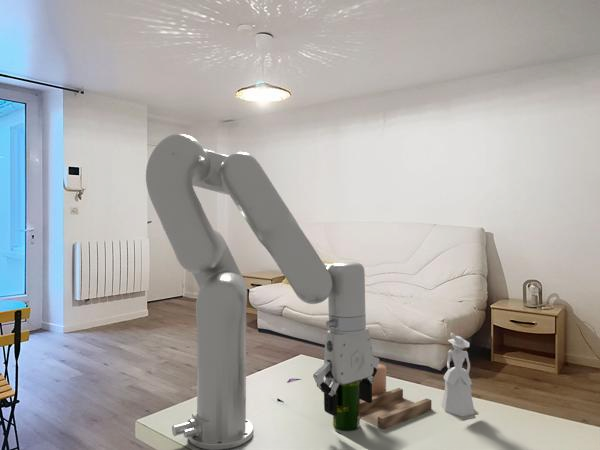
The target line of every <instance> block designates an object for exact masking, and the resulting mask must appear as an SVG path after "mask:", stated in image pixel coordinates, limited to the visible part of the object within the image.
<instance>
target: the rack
mask: <svg viewBox="0 0 600 450" xmlns="http://www.w3.org/2000/svg"><path fill="white" fill-rule="evenodd" d="M432 411H433V409H432V400H431V399H430V398H425V399H421V400H419V401H416V402H414V401H412V400H409V399H407V398H404V389H403V388H400V387H398V388H395V389H391V390H388V391H387V390H386V392H385V393H382V394H379V395H376V396H373V397H372V403H368V402H365V401H363V400H361V399H360V419H361V420H363V421H365V422H367V423H369V424H371V425H373V426H374V427H377V428H379V429H382V430H383V431H384V430H387V429H389V428H392V427H394V426H396V425H398V424H401V423H405V422H407V421H409V420H412V419H414V418H417V417H419V416H421V415H424V414H427V413H429V412H432Z"/></svg>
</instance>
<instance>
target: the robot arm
mask: <svg viewBox="0 0 600 450" xmlns="http://www.w3.org/2000/svg"><path fill="white" fill-rule="evenodd" d="M145 183H146V189H147V193H148V197H149V199H150V201H151V204H152V206H153V208H154V210H155V212H156V214H157V216H158V218H159V221H160V224H161V226H162V228H163V230H164V232H165V235H166V237H167V239H168V241H169V244H170V245H171V248H172V250H173V251H174V254H175V256H176V260H177V261H178V263H179V265H180V266H181V267H182V268H183V269H185V270H186V271H188V272H190V273H192V275H193V277H194V279H195V281H196V285H198V287H199V290H198V292H197V297H196V301H195V317H196V334H197V335H196V337H197V340H196V341H197V343H196V344H197V347H196V352H197V353H196V354H197V355H196V357H197V361H196V362H197V366H196V367H197V371H196V372H197V373H196V375H197V376H196V377H197V379H196V380H197V381H196V382H197V383H196V412H192V413H191V418H189V419H188V420H187V421H185V422H179V423H176V424H173V425H171V432H172V435H173V437H176V436H179V435H183V437H184V439H186V438H188V441H189V442H190V443H191V444H192V445H193V446H195V447H196V448H200V449H204V450H229V449H233V448H237V447H240V446H241V445H243V444H245V443H247V442H248V441H250V440H251V439H252V437H253V435H254V425H253V423H252V422H251V421H250V420H249V419H247V417H246V416H247V415H246V413H247V408H246V407H247V402H246V401H247V400H246V399H247V395H246V394H247V305H248V302H247V301H248V286H247V284H246V281H245V279H244V277H243V275H242V273H241V271H240V269H239V267H238V264H237V263H236V261H235V260H236V259H235V258H234V256H233V254H232V252H231V250H230V248H229V246H228V244H227V242H226V240H225V238H224V237H223V236H222V234H221V233H220V232H219V231H218V230H216V229H215V228H214V227H213V226H212V223H211V222H210V221H209V218H208V217H207V215H206V212H205V211H204V208H203V206H202V203H201V202H200V199H199V198H198V196H197V194H196V191H195V189H194V187H198V188H201V189H204V190H209V191H211V192H215V193H220V194H224V195H228V196H229V197H230V198H231V199H232V201H233V202H234V204H235V206H236V207H237V209H238V210H239V212H240V213H241V215H242V217H243V218H244V220H245V221H246V223H247V225H248V226H249V228H250V229H251V230H252V232H253V234H254V235H255V236H256V238H257V240H258V241H259V243H260V244H261V245H262V246H263V247H264V248H265V249H266V250H267V252H268V253H269V254H270V256H271V257H272V259H273V260H274V262H275V263H276V265H277V266H278V268H279V270H280V271H281V272H282V274H283V275H284V277H285V279H286V281H287V282H288V283H289V285H290V287H291V289H292V290H293V292H294V294H295V295H296V297H297V298H298V299H299V300H300V301H302V302H303V303H306V304H308V305H309V304H310V305H315V304H316V305H317V304H321V303H322V302H324V301H326V300H327V299H328V302H327V303H328V320H326V321H325V326H326V328H328V330H327V331H326V336H325V342H324V343H325V344H324V354H323V364H322V365H321V366H320V367H319V368H318V369H317V370H316V371H315V372H314V373H313V376H312V377H313V380H314V381H315V384H316V387H317V388H319V389H320V390H321V392H322V393H323V408H324V412H325V413H327V414H329V415H331V416H332V417H333V416H336V415H337V395H335V394H334V393H335V392H336V390H337V388H338V386H339V384H340V385H346V384H349V383H353V382H356V381H359V380H360V399H361V400H363V401H365V402H368V403H372V384H371V383H373V382H374V376H375V374H376V372H377V369H376V368H377V367H378V364H380V363H379V362H380V358H379V357H376V356H374V355H373V353H374V352H373V346H372V345H373V344H372V339H371V335H370V330H369V327H367V325H366V324H367V323H366V322H367V320H366V319H367V318H366V314H367V313H366V273H365V267H364V266H363V264H361V263H359V262H352V261H347V262H345V261H343V262H342V261H341V262H333V263H326V262H325V263H324V262H323V260H322V259H321V257H320V256H319V254H318V253H317V251H316V249H315V247H314V245H312V243H311V242H310V240H309V239H308V237H307V236H306V234H305V232H303V230H302V228H301V227H300V225H299V223H298V222H297V220H296V218H295V216H294V215H293V214H292V212H291V210H290V209H289V208H288V206H287V205H286V203H285V202H284V200H283V198H282V197H281V195H280V194H279V192H278V191H277V189H276V188H275V186H274V184H273V183H272V180H270V178H269V176H268V175H267V173H266V172H265V170H264V169H263V167H262V165H261V164H260V163H259V161H258V160H257V159H256V158H255V157H254V156H253V155H251V153H248V152H243V151H242V152H241V151H238V152H233V153H232V154H229V155H226V154H222V153H218V152H215V151H212V150H208V149H205V148H204V147H203V145H201V143H200V142H199V141H198V140H197V139H196V138H194V137H193V136H190V135H187V134H184V133H174V134H170V135H168V136H167V137H164V138H163V139H161V141H160V142H159V143H157V145H156V146H155V147H154V149H153V150H152V152H151V154H150V156H149V159H148V161H147V165H146V169H145Z"/></svg>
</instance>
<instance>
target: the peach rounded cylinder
mask: <svg viewBox="0 0 600 450" xmlns="http://www.w3.org/2000/svg"><path fill="white" fill-rule="evenodd" d="M376 369H377V372H376V374H375V376H374V382H373V383H371V384H372V397H373V396H376V395H379V394H382V393H385V392H386V391H387V366H386V365H385V364H381V363H378V367H377V368H376Z"/></svg>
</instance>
